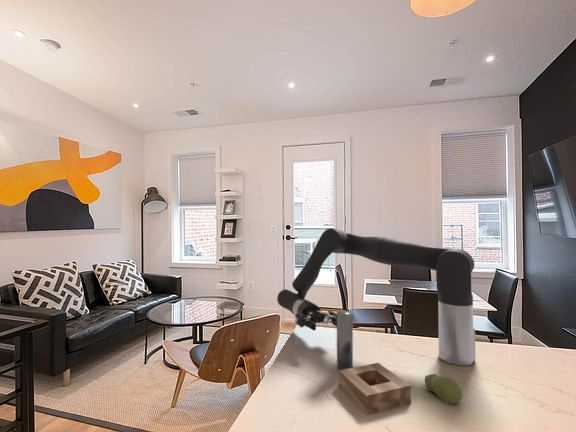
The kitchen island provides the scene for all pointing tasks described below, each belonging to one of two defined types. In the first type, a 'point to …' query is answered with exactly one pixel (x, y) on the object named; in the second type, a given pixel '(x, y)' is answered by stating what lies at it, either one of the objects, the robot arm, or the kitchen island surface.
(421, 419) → the kitchen island surface
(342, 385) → the socket block
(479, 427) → the kitchen island surface
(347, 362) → the pin
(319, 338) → the kitchen island surface
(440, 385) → the green rounded lump
